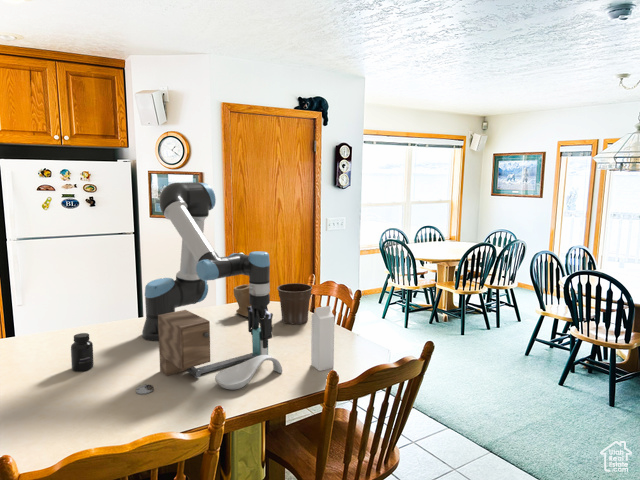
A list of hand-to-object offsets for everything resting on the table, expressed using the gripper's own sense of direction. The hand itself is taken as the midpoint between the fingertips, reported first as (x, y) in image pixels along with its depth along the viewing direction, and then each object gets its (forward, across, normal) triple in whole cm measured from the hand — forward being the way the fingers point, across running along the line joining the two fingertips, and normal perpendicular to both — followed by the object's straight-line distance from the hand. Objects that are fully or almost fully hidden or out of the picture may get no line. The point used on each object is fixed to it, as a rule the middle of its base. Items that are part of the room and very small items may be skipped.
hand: (260, 353), depth 174 cm
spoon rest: (+1, +15, -15) cm, 21 cm away
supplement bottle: (+1, -30, -54) cm, 62 cm away
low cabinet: (+1, -2, -29) cm, 29 cm away
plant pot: (+1, -25, +36) cm, 44 cm away
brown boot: (+1, -46, +24) cm, 52 cm away
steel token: (+1, 0, -44) cm, 44 cm away
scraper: (0, 0, -13) cm, 13 cm away
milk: (+1, +23, +11) cm, 25 cm away
